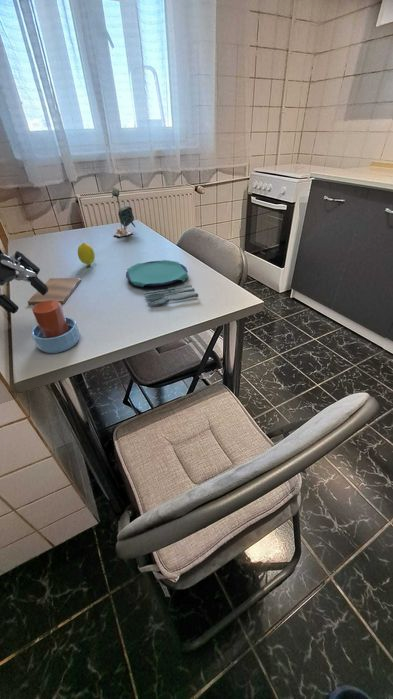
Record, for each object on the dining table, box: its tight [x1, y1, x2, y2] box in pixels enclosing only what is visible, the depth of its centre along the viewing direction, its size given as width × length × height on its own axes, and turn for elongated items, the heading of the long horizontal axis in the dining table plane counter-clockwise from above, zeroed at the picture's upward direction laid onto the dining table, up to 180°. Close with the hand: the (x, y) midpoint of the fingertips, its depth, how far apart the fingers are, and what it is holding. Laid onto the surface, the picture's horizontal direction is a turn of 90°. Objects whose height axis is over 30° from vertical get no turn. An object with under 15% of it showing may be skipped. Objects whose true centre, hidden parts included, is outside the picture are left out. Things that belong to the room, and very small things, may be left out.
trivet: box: [27, 277, 82, 306], centre depth 89 cm, size 16×10×1 cm, turn 0°
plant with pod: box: [111, 186, 136, 237], centre depth 131 cm, size 8×11×20 cm
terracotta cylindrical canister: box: [31, 300, 69, 338], centre depth 65 cm, size 6×6×8 cm
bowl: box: [30, 316, 81, 354], centre depth 67 cm, size 9×10×4 cm
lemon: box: [77, 242, 96, 266], centre depth 104 cm, size 6×6×8 cm
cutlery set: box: [125, 259, 199, 307], centre depth 92 cm, size 20×30×2 cm, turn 17°
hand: (32, 301), depth 63 cm, fingers open, 8 cm apart
